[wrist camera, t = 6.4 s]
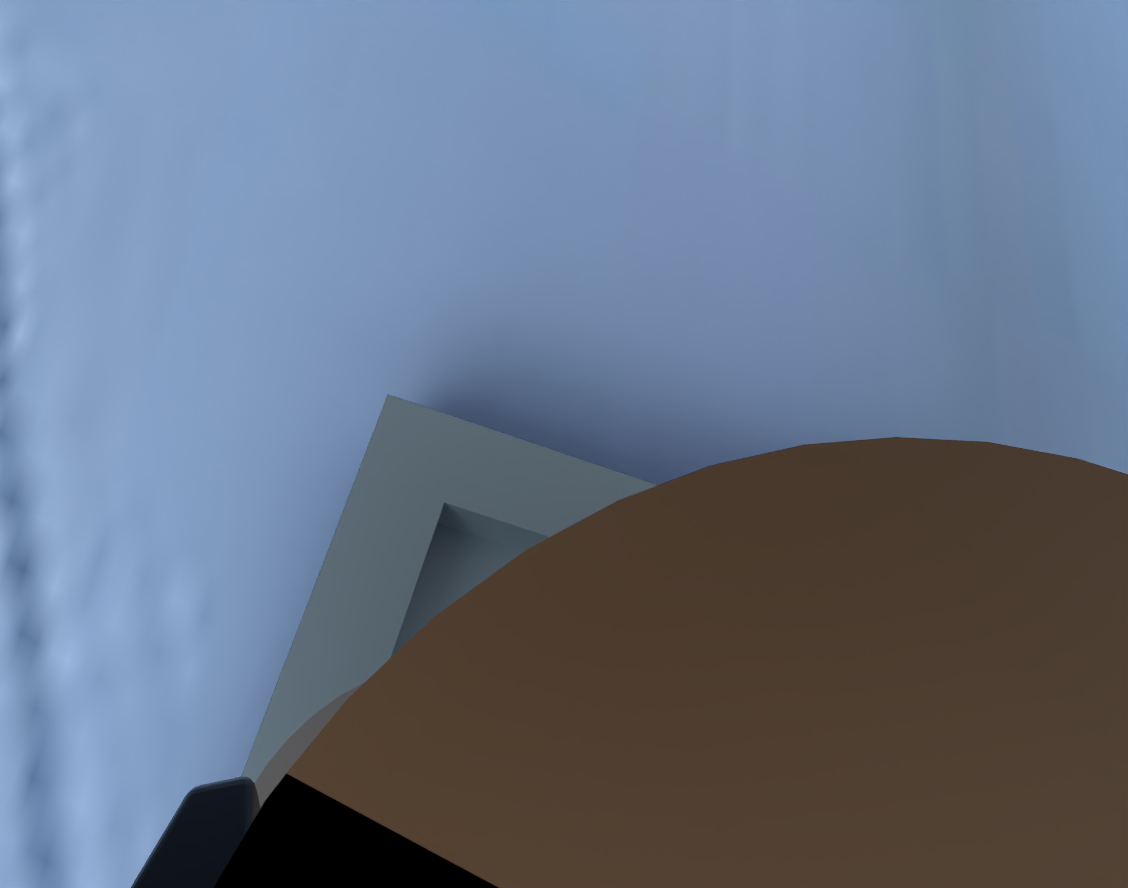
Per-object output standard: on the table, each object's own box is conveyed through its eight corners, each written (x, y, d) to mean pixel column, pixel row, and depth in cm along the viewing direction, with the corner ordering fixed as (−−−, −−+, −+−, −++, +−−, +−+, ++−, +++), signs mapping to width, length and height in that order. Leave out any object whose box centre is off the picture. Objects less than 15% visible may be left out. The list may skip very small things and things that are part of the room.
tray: (954, 630, 22) (1023, 608, 20) (852, 1346, 18) (926, 1426, 15) (385, 440, 21) (388, 393, 19) (119, 1141, 17) (81, 1193, 14)
